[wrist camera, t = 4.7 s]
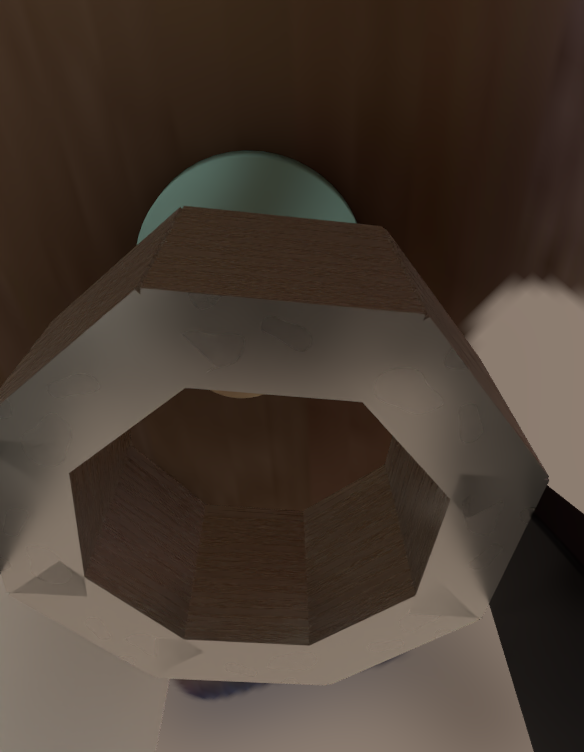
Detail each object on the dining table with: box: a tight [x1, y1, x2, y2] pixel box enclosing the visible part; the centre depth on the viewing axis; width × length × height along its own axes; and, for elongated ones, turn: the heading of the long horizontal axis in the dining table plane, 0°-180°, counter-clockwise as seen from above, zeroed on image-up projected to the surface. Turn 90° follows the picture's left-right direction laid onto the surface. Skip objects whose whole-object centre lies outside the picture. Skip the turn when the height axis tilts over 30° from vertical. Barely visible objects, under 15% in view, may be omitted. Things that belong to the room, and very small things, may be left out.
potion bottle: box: [0, 574, 170, 752], centre depth 20 cm, size 8×8×18 cm
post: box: [137, 150, 357, 398], centre depth 18 cm, size 8×8×6 cm
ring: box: [0, 206, 549, 685], centre depth 9 cm, size 7×7×3 cm
